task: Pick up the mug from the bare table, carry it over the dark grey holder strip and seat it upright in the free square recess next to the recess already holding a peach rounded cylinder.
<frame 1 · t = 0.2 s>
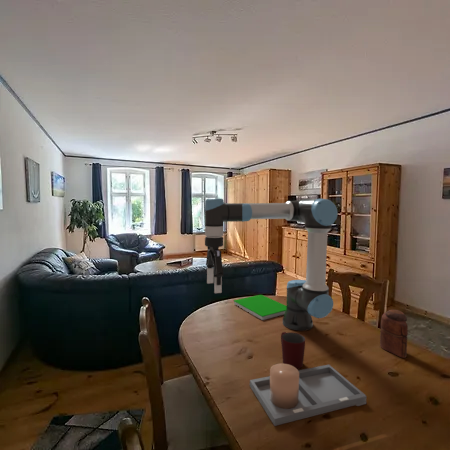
hand: (213, 287, 116), 28 cm above the table, fingers open, 13 cm apart
book: (261, 309, 168), on the table
holder: (305, 395, 92), on the table
brown leather pouch: (393, 351, 120), on the table
mug: (290, 363, 111), on the table
peach rounded cylinder: (283, 398, 90), point 1 cm above the table, touching holder
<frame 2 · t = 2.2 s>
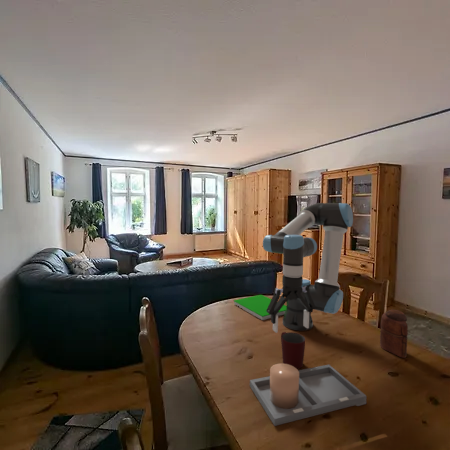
hand: (290, 329, 109), 14 cm above the table, fingers open, 13 cm apart
nothing on the table moved.
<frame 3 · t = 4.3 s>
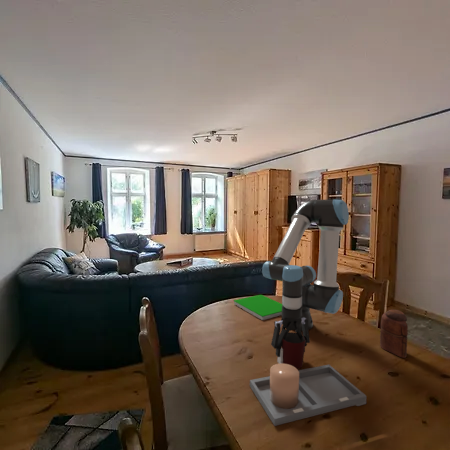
hand: (290, 362, 111), 0 cm above the table, fingers closed on mug, 8 cm apart
mug: (290, 363, 111), on the table, touching gripper
everything else where it was.
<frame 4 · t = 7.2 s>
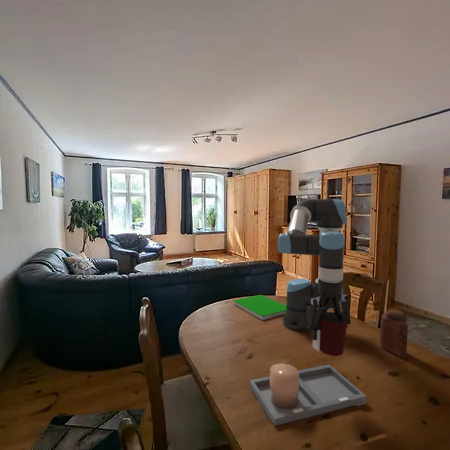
hand: (327, 346, 93), 15 cm above the table, fingers closed on mug, 8 cm apart
mug: (327, 348, 93), point 15 cm above the table, touching gripper
everything else where it was.
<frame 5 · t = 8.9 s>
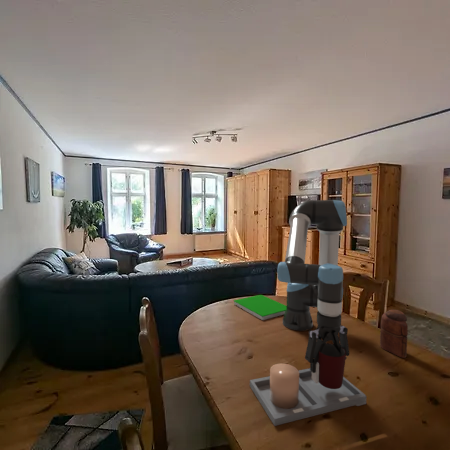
hand: (326, 378, 94), 4 cm above the table, fingers closed on mug, 8 cm apart
mug: (326, 379, 94), point 4 cm above the table, touching gripper
everything else where it was.
when the fingers open (3 cm above the table, at t = 10.2 s): mug drops 2 cm, resting on holder.
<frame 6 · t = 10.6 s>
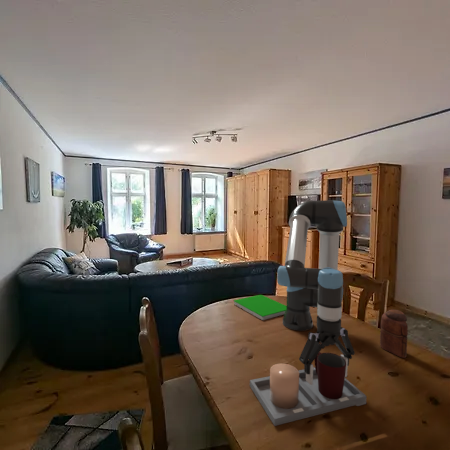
hand: (326, 378, 94), 4 cm above the table, fingers open, 13 cm apart
mug: (326, 389, 94), resting on holder
everything else where it was.
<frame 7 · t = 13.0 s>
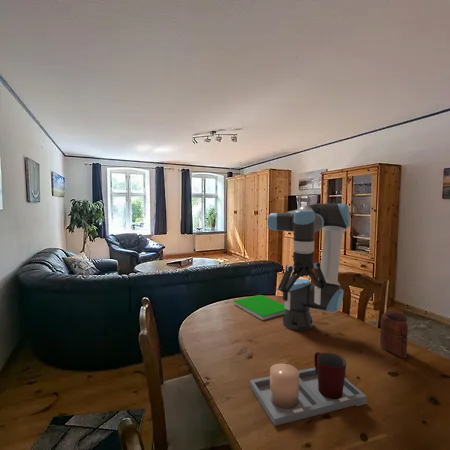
hand: (302, 306, 108), 23 cm above the table, fingers open, 13 cm apart
nothing on the table moved.
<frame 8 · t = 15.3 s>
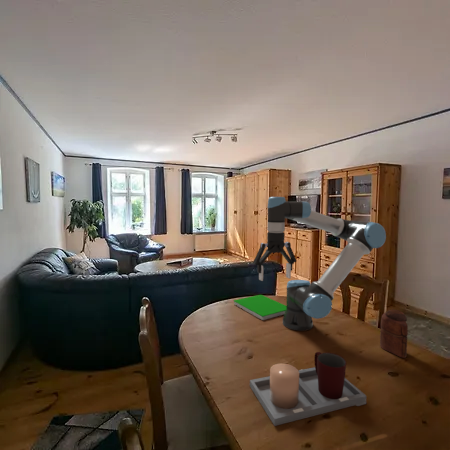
hand: (274, 279, 126), 29 cm above the table, fingers open, 13 cm apart
nothing on the table moved.
at the end: mug inside the target area on the holder (0.2 cm from its centre), point 0.4 cm above the holder's base; mug tilted 0°; peach rounded cylinder moved 0.0 cm from its start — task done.
